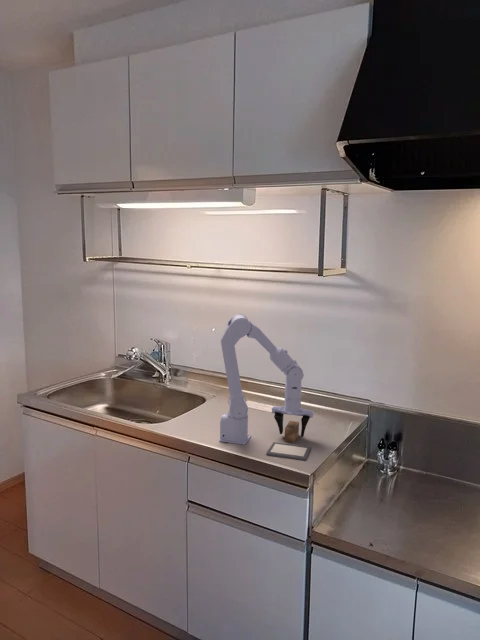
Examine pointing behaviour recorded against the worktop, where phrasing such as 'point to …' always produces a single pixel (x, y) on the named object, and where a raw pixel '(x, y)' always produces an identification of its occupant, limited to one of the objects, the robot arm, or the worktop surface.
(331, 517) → the worktop surface
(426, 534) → the worktop surface
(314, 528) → the worktop surface
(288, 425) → the block
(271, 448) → the mat
